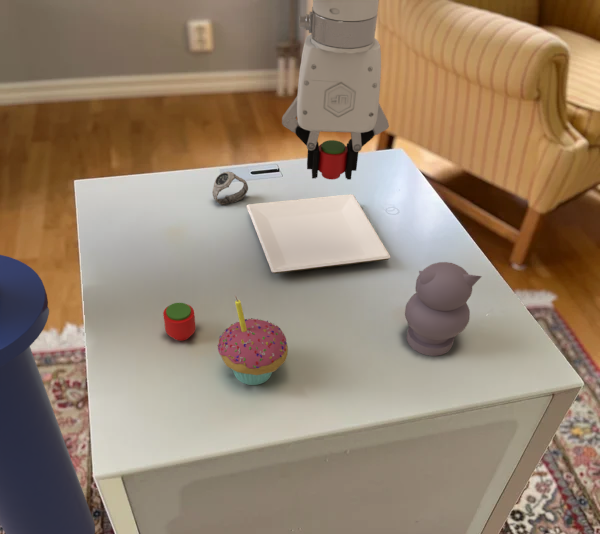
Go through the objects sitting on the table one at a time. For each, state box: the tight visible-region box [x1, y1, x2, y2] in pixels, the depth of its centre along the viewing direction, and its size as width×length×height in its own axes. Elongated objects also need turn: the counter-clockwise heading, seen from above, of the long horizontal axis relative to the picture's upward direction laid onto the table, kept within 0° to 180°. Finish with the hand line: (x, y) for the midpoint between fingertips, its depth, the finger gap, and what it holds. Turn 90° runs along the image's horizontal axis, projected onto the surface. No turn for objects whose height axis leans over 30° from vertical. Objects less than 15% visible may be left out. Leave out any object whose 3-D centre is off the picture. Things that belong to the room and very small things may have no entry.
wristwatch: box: [211, 171, 249, 206], centre depth 107 cm, size 4×6×5 cm, turn 118°
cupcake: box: [217, 295, 289, 386], centre depth 77 cm, size 9×8×12 cm
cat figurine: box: [404, 261, 483, 357], centre depth 83 cm, size 8×8×12 cm
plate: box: [246, 193, 391, 274], centre depth 101 cm, size 19×19×2 cm
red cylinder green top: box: [318, 139, 348, 180], centre depth 86 cm, size 4×4×4 cm
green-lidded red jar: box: [162, 302, 197, 341], centre depth 84 cm, size 4×4×4 cm
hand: (331, 172), depth 88 cm, fingers closed on red cylinder green top, 4 cm apart
